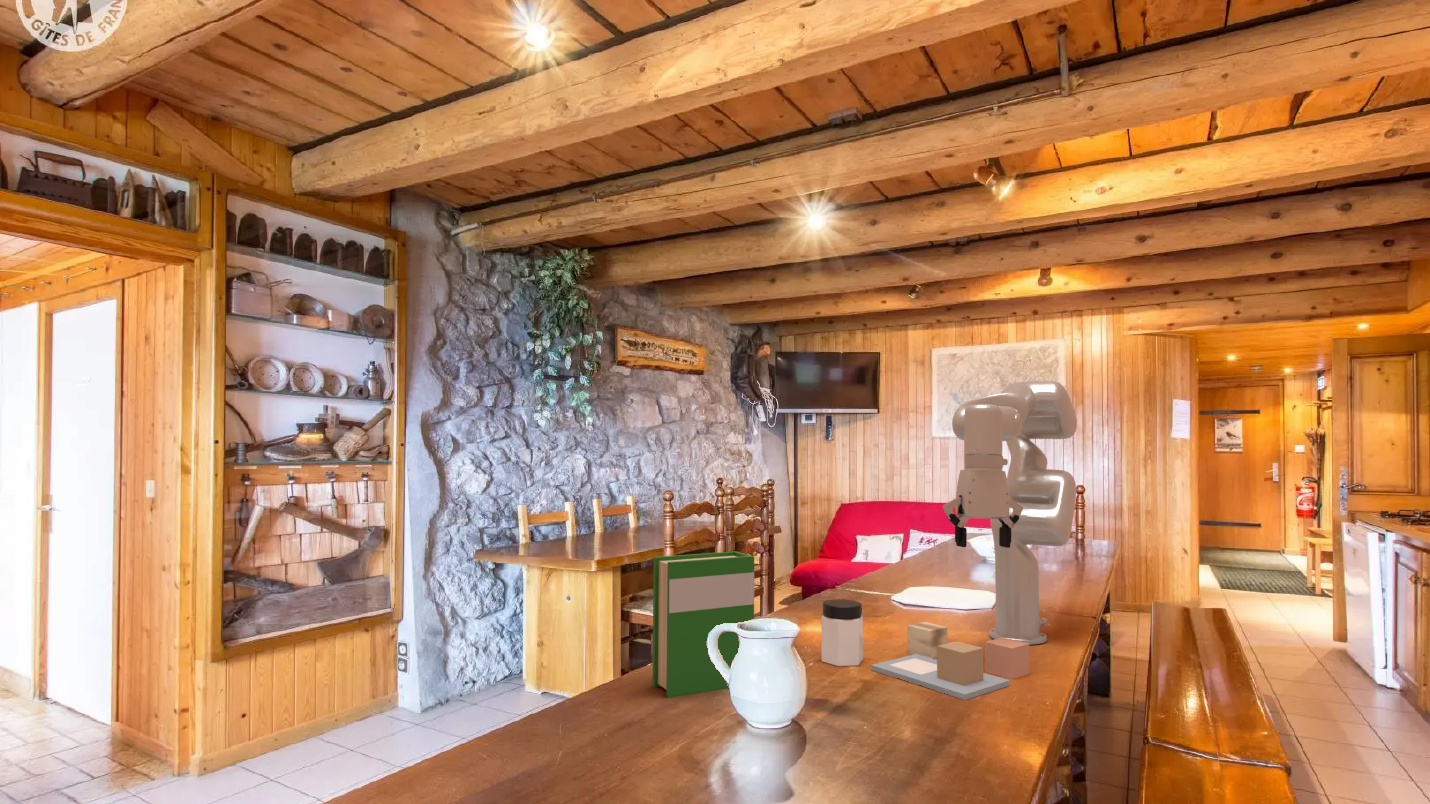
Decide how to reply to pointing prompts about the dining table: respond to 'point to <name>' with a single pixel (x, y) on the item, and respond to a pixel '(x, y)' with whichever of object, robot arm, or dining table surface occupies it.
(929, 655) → the birch block
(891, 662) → the board
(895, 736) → the dining table surface
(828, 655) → the jar
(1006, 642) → the terracotta block
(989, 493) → the robot arm
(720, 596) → the hardback book
